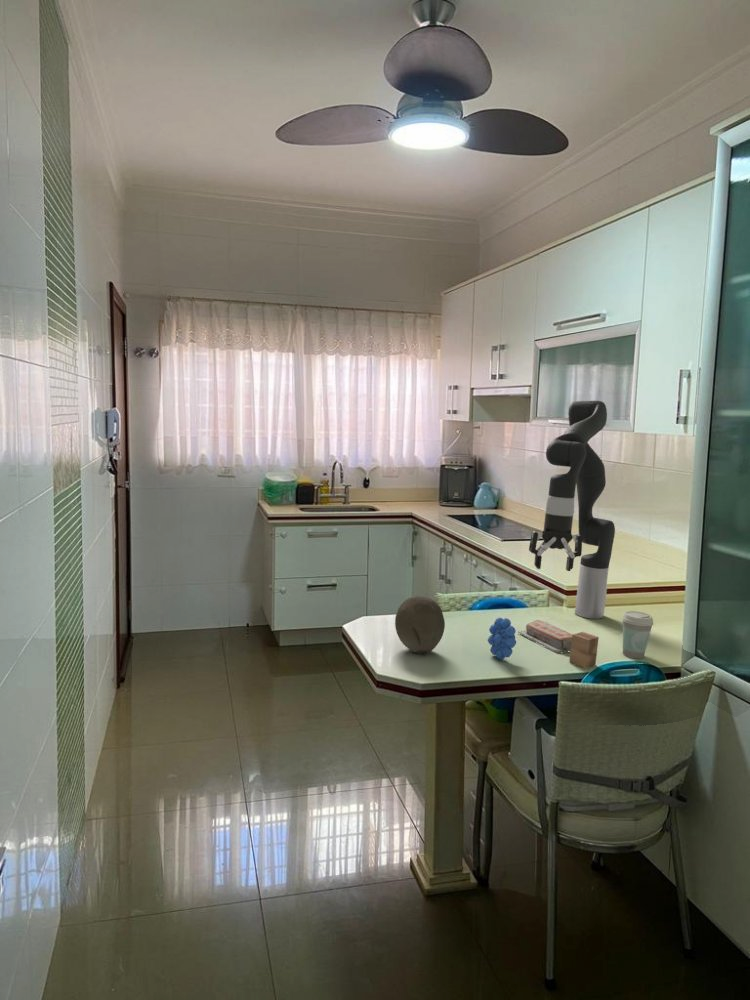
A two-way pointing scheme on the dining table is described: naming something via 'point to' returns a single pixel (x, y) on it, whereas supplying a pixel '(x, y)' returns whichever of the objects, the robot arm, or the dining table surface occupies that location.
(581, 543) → the robot arm
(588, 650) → the walnut block
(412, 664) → the dining table surface
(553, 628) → the packaged product
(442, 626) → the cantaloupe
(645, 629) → the coffee cup
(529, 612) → the dining table surface
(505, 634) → the grapes
